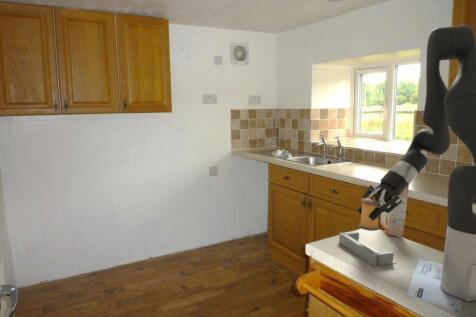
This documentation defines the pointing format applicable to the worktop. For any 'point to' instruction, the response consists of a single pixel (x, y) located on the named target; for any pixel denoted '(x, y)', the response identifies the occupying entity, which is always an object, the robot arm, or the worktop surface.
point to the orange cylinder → (367, 208)
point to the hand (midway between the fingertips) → (365, 215)
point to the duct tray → (365, 249)
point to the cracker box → (395, 217)
